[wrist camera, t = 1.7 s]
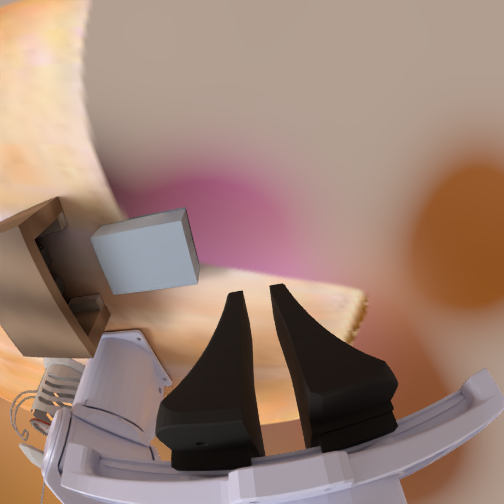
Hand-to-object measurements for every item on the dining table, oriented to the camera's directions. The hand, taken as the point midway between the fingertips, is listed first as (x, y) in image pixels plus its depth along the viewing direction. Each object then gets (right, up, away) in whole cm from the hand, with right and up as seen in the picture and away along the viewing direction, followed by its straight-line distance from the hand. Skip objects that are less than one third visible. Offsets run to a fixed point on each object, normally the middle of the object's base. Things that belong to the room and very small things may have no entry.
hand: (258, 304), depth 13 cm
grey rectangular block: (-8, +3, +8) cm, 12 cm away
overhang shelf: (-20, +1, +7) cm, 21 cm away
